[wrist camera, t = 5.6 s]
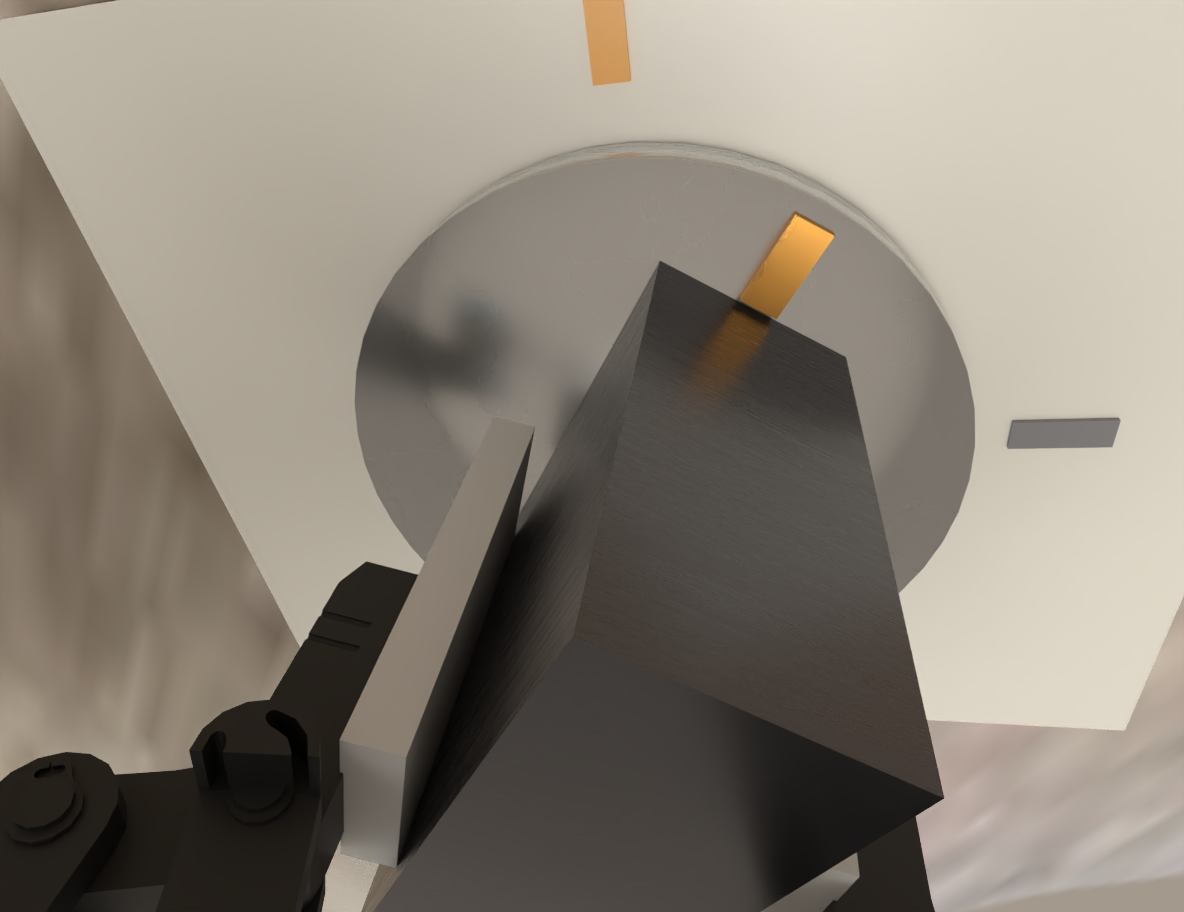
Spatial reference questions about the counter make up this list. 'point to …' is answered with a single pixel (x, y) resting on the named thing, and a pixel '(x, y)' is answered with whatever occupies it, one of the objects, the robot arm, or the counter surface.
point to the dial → (670, 529)
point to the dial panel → (674, 115)
